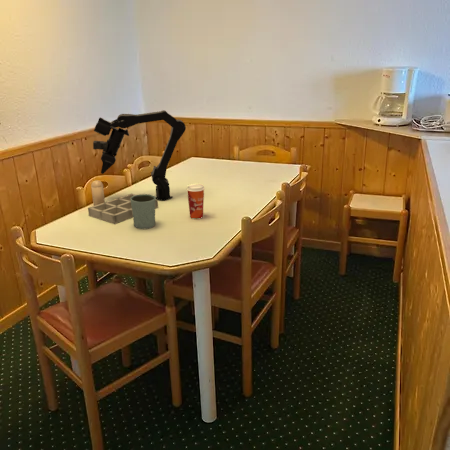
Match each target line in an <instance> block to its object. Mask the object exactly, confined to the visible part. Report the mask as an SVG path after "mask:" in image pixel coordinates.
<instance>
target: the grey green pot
mask: <svg viewBox="0 0 450 450" xmlns="http://www.w3.org/2000/svg"><path fill="white" fill-rule="evenodd" d="M156 197H157V196H156V195H153V194H150V193H149V194H148V193H147V194H146V193H142V194H135V196H132V197H131V198H130V200H131V206H132V212H133V217H132V218H133V219H132V220H133V226H134V228H135V229H139V230H142V229H143V230H145V229H146V230H147V229H151V228H153V227H154V226H155V225H156V209H155V202H156V200H157V199H156Z"/></svg>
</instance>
